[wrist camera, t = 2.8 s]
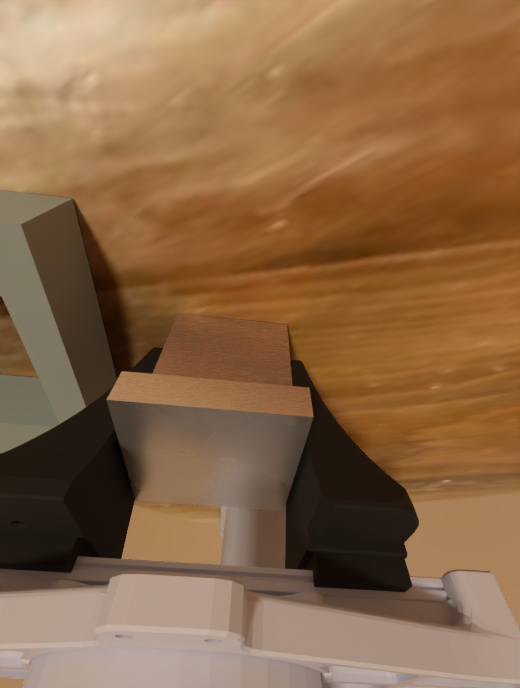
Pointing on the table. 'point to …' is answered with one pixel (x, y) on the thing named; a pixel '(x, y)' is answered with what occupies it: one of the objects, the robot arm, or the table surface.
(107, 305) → the table surface
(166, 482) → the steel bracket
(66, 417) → the well block
